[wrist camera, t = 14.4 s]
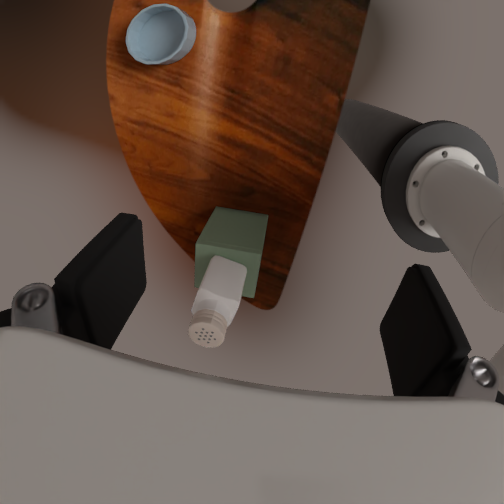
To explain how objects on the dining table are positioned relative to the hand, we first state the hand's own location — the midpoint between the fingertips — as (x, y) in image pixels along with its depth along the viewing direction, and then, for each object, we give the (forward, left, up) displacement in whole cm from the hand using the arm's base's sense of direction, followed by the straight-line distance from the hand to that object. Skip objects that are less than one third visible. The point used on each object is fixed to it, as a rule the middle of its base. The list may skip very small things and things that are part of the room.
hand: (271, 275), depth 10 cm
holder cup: (+16, -11, -28) cm, 34 cm away
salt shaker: (+4, +14, -19) cm, 24 cm away
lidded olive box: (+4, +14, -28) cm, 32 cm away
